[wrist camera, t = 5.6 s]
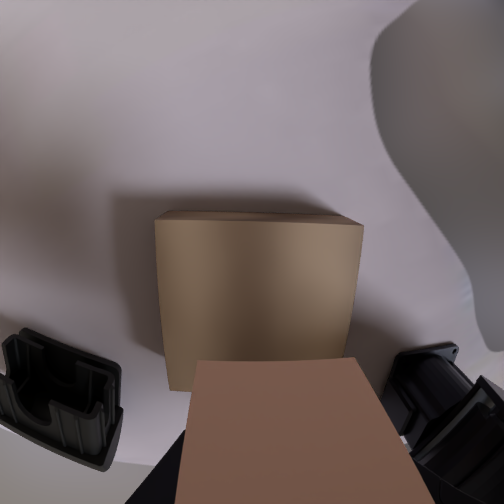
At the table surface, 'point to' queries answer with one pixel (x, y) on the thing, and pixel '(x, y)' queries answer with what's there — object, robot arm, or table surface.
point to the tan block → (253, 287)
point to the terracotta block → (292, 437)
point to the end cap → (61, 398)
